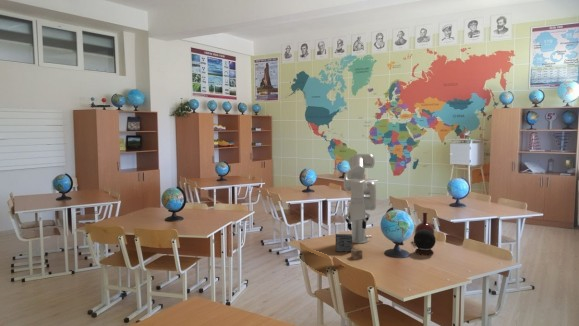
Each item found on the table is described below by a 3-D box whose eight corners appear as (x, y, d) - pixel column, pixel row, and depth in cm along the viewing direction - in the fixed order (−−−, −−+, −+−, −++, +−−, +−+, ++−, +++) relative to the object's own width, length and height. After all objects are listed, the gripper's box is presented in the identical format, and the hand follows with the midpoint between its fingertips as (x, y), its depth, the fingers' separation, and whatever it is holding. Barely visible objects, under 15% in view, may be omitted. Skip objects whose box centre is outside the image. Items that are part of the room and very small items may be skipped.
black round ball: (409, 251, 267) (409, 228, 266) (426, 249, 271) (427, 226, 270) (421, 256, 255) (422, 232, 254) (439, 254, 259) (440, 230, 258)
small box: (351, 249, 271) (351, 233, 270) (352, 252, 265) (352, 236, 264) (335, 249, 272) (335, 233, 272) (335, 252, 266) (335, 236, 265)
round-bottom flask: (437, 244, 283) (437, 215, 282) (417, 244, 284) (418, 215, 282) (430, 239, 296) (431, 211, 295) (412, 239, 297) (412, 211, 295)
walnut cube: (358, 256, 257) (358, 248, 256) (362, 258, 252) (362, 250, 252) (351, 257, 255) (351, 249, 255) (354, 259, 250) (355, 251, 250)
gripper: (366, 199, 257) (366, 226, 258) (341, 200, 252) (341, 228, 253) (372, 201, 250) (372, 229, 251) (346, 202, 245) (346, 231, 246)
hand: (356, 229), depth 252 cm, fingers open, 9 cm apart
